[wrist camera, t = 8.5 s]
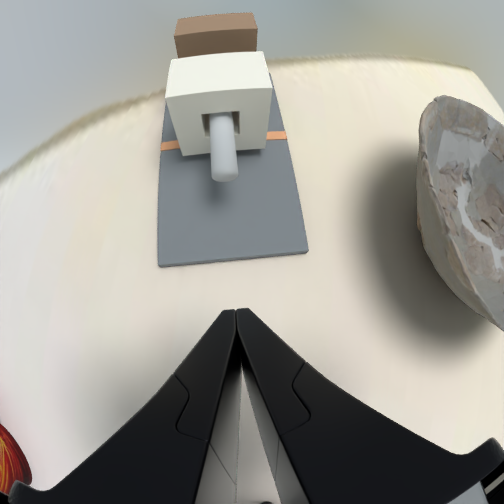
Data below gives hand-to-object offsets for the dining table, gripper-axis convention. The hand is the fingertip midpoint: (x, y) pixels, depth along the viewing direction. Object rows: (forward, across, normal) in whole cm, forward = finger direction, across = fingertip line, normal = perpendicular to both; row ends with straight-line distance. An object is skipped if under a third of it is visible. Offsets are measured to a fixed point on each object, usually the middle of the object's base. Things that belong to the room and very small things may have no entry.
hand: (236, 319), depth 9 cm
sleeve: (+19, 0, +4) cm, 20 cm away
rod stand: (+20, 0, +3) cm, 20 cm away
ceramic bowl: (+12, +24, -6) cm, 27 cm away
